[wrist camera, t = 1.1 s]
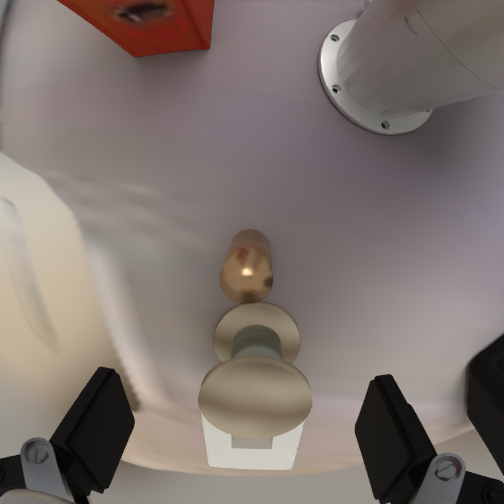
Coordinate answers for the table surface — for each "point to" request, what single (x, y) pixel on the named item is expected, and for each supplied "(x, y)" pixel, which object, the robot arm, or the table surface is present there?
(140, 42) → the file binder
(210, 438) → the notched board
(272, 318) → the spool
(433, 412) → the table surface
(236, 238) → the copper pin
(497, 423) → the air purifier
